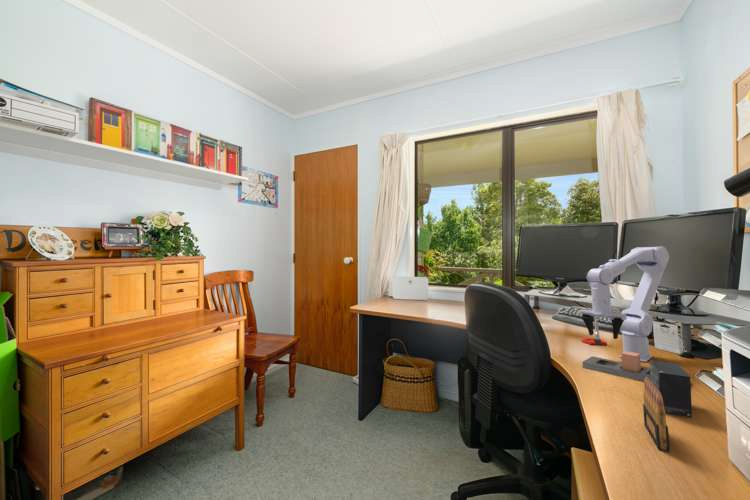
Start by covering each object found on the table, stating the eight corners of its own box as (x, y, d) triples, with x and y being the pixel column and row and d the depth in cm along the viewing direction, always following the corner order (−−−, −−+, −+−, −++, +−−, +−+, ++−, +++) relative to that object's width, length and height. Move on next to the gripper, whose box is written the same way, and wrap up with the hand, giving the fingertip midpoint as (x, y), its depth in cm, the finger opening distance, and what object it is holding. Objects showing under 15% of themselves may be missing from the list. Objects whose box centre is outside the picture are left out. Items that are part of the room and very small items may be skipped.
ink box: (658, 347, 130) (657, 320, 131) (685, 354, 121) (683, 324, 121) (653, 348, 130) (651, 320, 130) (679, 355, 121) (677, 325, 121)
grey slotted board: (592, 361, 117) (592, 356, 117) (689, 382, 96) (688, 375, 96) (582, 367, 112) (582, 361, 112) (683, 390, 91) (682, 383, 91)
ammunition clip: (644, 424, 74) (640, 374, 75) (654, 426, 74) (650, 375, 74) (658, 449, 65) (654, 392, 65) (670, 452, 64) (666, 393, 64)
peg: (626, 371, 107) (625, 350, 107) (641, 374, 104) (639, 353, 104) (622, 374, 104) (621, 353, 105) (637, 377, 101) (636, 356, 101)
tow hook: (578, 340, 146) (588, 345, 137) (576, 313, 147) (586, 315, 138) (597, 340, 145) (609, 345, 136) (595, 312, 146) (607, 315, 137)
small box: (695, 419, 76) (692, 376, 76) (659, 413, 79) (657, 372, 79) (681, 401, 85) (679, 362, 85) (650, 396, 88) (648, 359, 88)
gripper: (575, 299, 121) (577, 335, 120) (621, 303, 109) (623, 342, 109) (582, 297, 125) (584, 331, 124) (627, 301, 113) (629, 338, 113)
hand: (603, 336), depth 117 cm, fingers open, 7 cm apart
